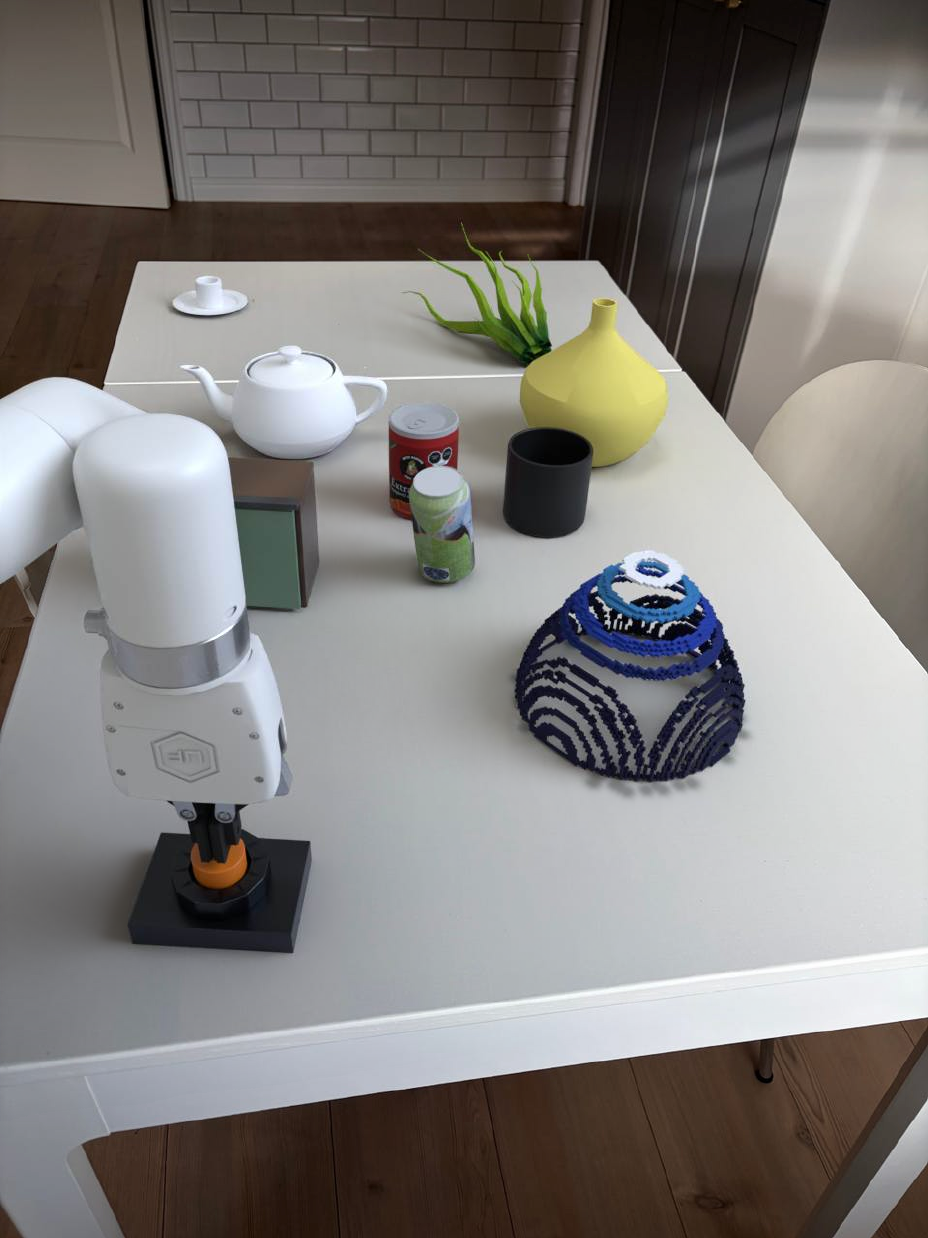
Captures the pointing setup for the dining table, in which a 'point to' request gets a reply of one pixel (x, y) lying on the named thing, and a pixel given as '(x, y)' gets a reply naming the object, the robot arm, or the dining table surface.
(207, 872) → the button
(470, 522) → the beverage can
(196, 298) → the candle holder
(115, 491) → the robot arm
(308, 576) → the closet
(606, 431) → the vase
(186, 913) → the switch block
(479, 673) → the dining table surface
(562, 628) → the decorative bowl
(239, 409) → the teapot
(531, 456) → the mug
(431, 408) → the canned food
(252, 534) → the closet door
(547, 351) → the decorative plant
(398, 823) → the dining table surface
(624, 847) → the dining table surface
